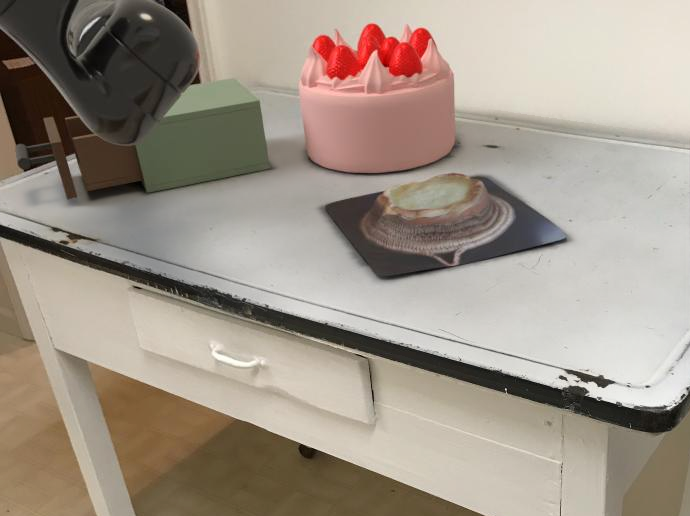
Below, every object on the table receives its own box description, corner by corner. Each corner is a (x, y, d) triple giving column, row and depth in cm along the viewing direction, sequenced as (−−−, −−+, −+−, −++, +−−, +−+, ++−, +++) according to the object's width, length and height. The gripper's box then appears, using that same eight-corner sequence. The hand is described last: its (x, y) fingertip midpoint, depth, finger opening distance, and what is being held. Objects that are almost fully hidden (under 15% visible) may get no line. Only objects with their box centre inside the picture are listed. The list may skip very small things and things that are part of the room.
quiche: (570, 240, 86) (572, 203, 84) (380, 282, 81) (377, 243, 79) (484, 175, 103) (484, 142, 100) (322, 206, 98) (318, 172, 95)
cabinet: (147, 193, 104) (130, 122, 100) (131, 163, 114) (115, 97, 109) (270, 168, 109) (259, 100, 104) (244, 141, 119) (234, 77, 114)
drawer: (30, 207, 100) (12, 150, 97) (24, 177, 109) (7, 124, 105) (187, 176, 106) (176, 121, 102) (170, 150, 115) (159, 98, 111)
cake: (276, 160, 111) (259, 45, 103) (367, 117, 124) (359, 12, 116) (399, 185, 102) (392, 60, 93) (484, 136, 115) (484, 22, 107)
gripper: (176, -21, 77) (145, -41, 90) (7, 0, 72) (0, -24, 85) (192, 66, 81) (160, 35, 94) (34, 91, 77) (23, 55, 90)
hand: (84, 7), depth 90 cm, fingers closed on energy drink, 5 cm apart
